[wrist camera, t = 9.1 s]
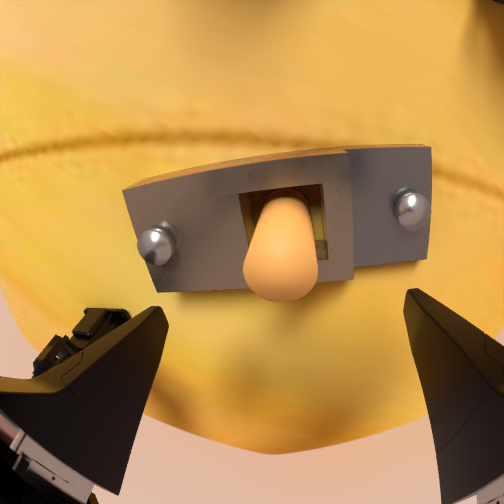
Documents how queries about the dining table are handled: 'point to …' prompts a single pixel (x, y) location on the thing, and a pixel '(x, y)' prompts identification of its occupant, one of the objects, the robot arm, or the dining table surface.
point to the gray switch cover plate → (233, 218)
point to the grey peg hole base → (382, 201)
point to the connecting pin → (282, 249)
